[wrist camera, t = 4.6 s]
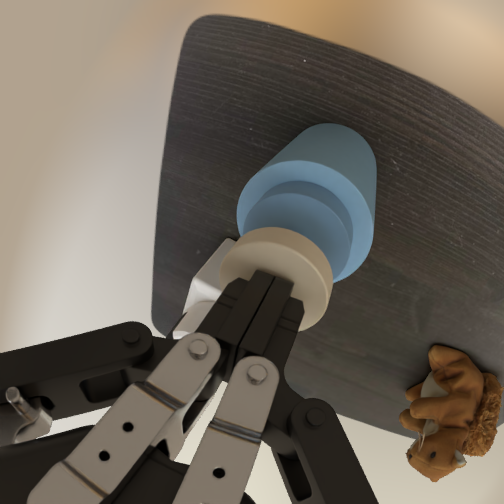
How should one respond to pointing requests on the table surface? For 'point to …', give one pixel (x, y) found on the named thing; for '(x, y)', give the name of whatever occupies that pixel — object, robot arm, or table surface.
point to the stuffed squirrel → (451, 413)
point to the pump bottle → (318, 194)
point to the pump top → (283, 266)
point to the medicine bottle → (202, 293)
